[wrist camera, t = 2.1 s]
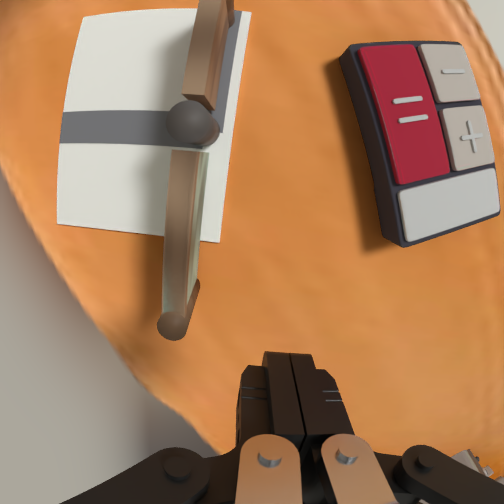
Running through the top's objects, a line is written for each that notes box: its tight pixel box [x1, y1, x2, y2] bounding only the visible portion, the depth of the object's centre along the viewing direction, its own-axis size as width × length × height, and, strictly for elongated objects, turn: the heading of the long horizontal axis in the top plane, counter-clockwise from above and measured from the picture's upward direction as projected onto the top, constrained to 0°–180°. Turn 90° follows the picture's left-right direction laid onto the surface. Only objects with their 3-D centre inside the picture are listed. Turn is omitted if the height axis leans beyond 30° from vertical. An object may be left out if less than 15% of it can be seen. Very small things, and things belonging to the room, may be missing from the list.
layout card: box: [57, 9, 251, 243], centre depth 21 cm, size 18×14×1 cm
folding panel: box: [157, 150, 209, 341], centre depth 19 cm, size 11×2×6 cm, turn 172°
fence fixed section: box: [166, 0, 235, 146], centre depth 17 cm, size 11×2×7 cm, turn 172°
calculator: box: [339, 41, 500, 248], centre depth 20 cm, size 11×4×15 cm
